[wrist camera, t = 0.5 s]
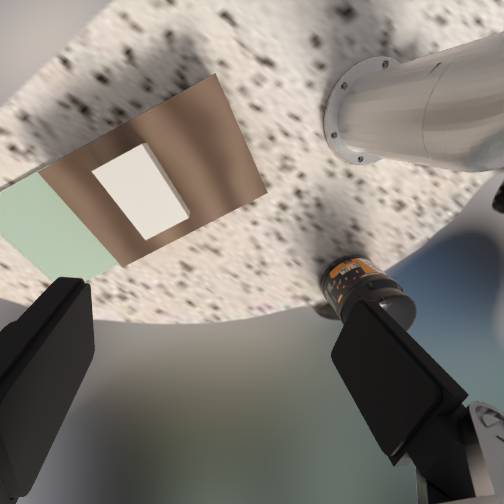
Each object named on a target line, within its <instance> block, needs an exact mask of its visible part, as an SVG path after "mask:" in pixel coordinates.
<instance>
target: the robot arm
mask: <svg viewBox="0 0 504 504" xmlns="http://www.w3.org/2000/svg"><path fill="white" fill-rule="evenodd" d="M341 85H342V86H343V88H342V89H341ZM324 131H325V135H326V140H327V142H328V144H329V146H330V148H331V150H332V151H333V152H334V154H335V155H336V156H338V157H339V158H340V159H341V160H343V161H345V162H347V163H351V164H355V165H368V164H371V163H375V162H377V161H379V160H381V159H383V158H388V159H393V160H399V161H404V162H409V163H415V164H420V165H426V166H431V167H436V168H442V169H448V170H454V171H460V172H470V173H471V172H485V171H491V170H496V169H499V168H502V167H504V31H503V32H500V33H497V34H494V35H491V36H488V37H485V38H482V39H478V40H475V41H472V42H469V43H466V44H462V45H459V46H456V47H453V48H450V49H446V50H443V51H440V52H437V53H434V54H430V55H427V56H424V57H421V58H418V59H414V60H411V61H408V62H405V63H400V62H399V61H398V60H395V59H393V58H390V57H383V56H378V57H372V58H369V59H366V60H363V61H361V62H359V63H358V64H356V65H354V66H353V67H351V68H350V69H349V70H348V71H346V72H345V73H344V75H343V76H342V77H341V78H340V79H339V80H338V82H337V83H336V85H335V87H334V88H333V90H332V92H331V94H330V96H329V99H328V102H327V105H326V109H325V116H324ZM332 133H333V135H332V137H331V134H332ZM358 157H359V159H358ZM94 350H95V345H94V331H93V315H92V300H91V287H90V284H88V283H84V280H83V279H82V278H73V277H58V278H57V279H56V280H55V281H54V282H53V283H52V284H51V285H50V286H49V287H48V288H47V289H46V290H45V291H44V292H43V293H42V294H41V296H40V297H39V298H38V299H37V300H36V301H35V302H34V303H33V304H32V305H31V306H30V307H29V308H28V309H27V310H26V311H25V312H24V313H23V314H22V315H21V317H20V318H19V319H18V320H17V321H14V322H11V323H9V324H8V325H7V326H6V327H4V328H3V329H2V330H1V332H0V504H16V502H17V500H18V498H19V497H24V496H26V495H27V494H28V493H29V491H30V490H31V488H32V486H33V484H34V482H35V480H36V478H37V476H38V473H39V472H40V469H41V467H42V465H43V463H44V461H45V458H46V457H47V455H48V452H49V450H50V448H51V446H52V444H53V442H54V440H55V438H56V435H57V433H58V431H59V429H60V427H61V425H62V423H63V420H64V419H65V416H66V414H67V412H68V410H69V408H70V406H71V404H72V401H73V399H74V397H75V395H76V393H77V391H78V389H79V387H80V384H81V382H82V380H83V378H84V376H85V374H86V371H87V370H88V367H89V365H90V363H91V361H92V359H93V355H94ZM331 358H332V361H333V363H334V365H335V367H336V369H337V370H338V372H339V374H340V376H341V378H342V379H343V381H344V383H345V385H346V386H347V388H348V390H349V392H350V394H351V395H352V397H353V399H354V401H355V403H356V405H357V406H358V408H359V410H360V412H361V414H362V416H363V417H364V419H365V421H366V423H367V425H368V426H369V428H370V430H371V432H372V434H373V435H374V437H375V439H376V441H377V443H378V445H379V446H380V448H381V450H382V451H383V452H384V453H385V454H386V455H387V456H388V457H389V459H390V461H391V463H392V465H393V466H394V467H398V466H406V465H408V464H409V463H410V462H411V461H413V463H414V464H415V466H416V485H417V501H418V504H504V413H503V412H502V411H500V410H498V409H496V408H495V407H493V406H491V405H488V404H486V403H484V402H479V401H473V402H471V403H470V404H469V405H468V406H467V408H465V407H464V406H463V404H462V402H463V401H464V400H465V399H466V398H467V396H468V394H467V393H466V392H465V391H464V390H463V389H462V388H461V387H460V385H458V384H457V383H456V381H455V380H453V378H452V377H450V375H449V374H448V373H446V372H445V370H444V369H443V368H442V367H441V366H440V365H439V364H438V363H437V362H436V361H435V360H434V359H433V358H432V357H431V356H430V355H429V354H428V353H427V352H426V351H425V350H424V349H423V348H422V347H421V346H420V345H419V344H418V343H417V342H416V341H415V340H414V339H413V338H412V337H411V336H410V335H409V334H408V333H407V332H406V331H405V330H404V329H403V328H402V327H401V326H400V325H399V324H398V323H397V322H396V321H395V320H394V319H393V318H392V317H391V316H390V315H389V314H388V313H387V312H386V311H385V310H384V309H383V308H382V307H381V306H380V305H379V304H378V303H377V302H376V301H373V300H359V301H358V302H357V303H355V304H354V305H353V307H352V309H351V311H350V314H349V316H348V318H347V320H346V322H345V324H344V326H343V328H342V330H341V333H340V335H339V337H338V339H337V341H336V343H335V345H334V347H333V350H332V352H331Z"/></svg>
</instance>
